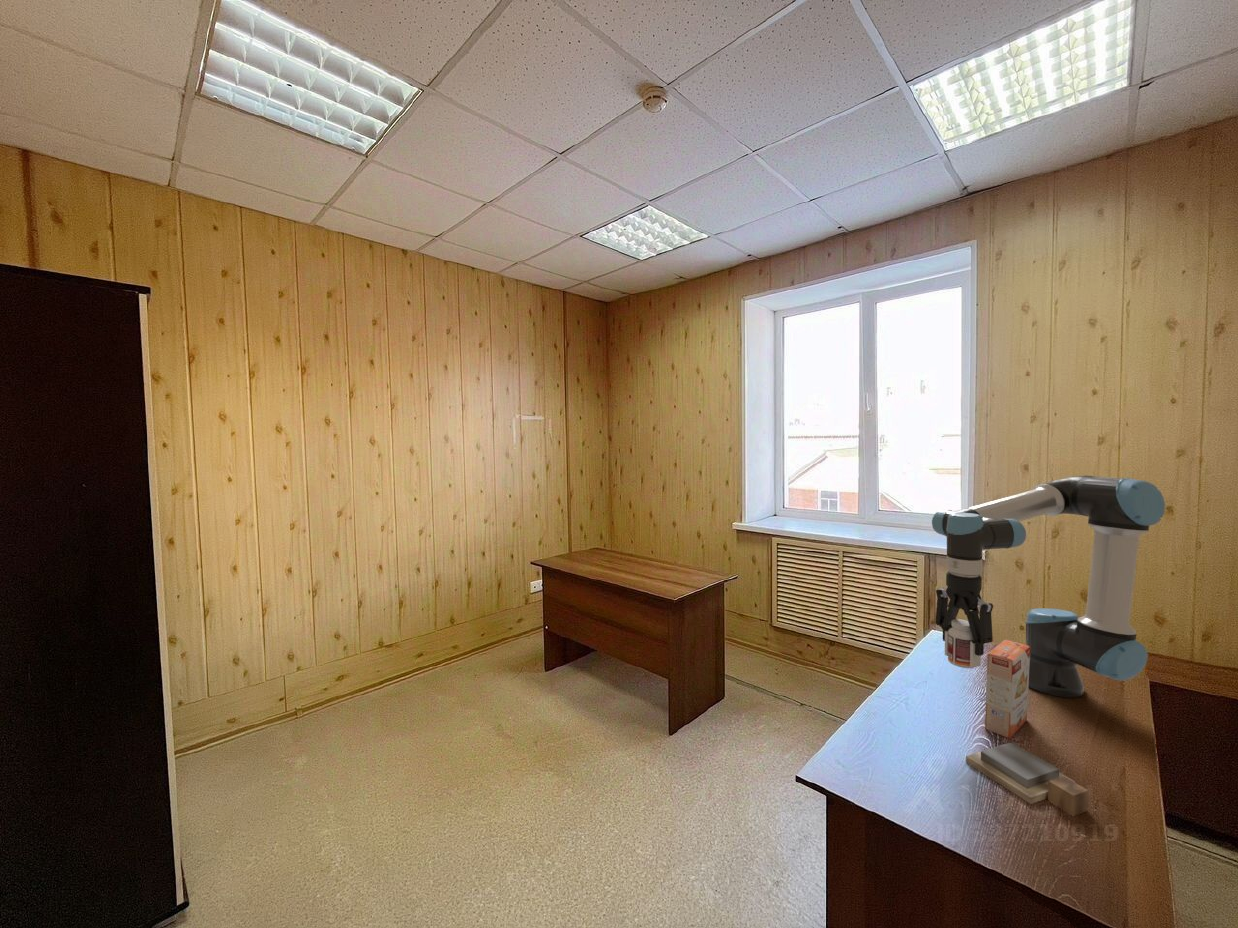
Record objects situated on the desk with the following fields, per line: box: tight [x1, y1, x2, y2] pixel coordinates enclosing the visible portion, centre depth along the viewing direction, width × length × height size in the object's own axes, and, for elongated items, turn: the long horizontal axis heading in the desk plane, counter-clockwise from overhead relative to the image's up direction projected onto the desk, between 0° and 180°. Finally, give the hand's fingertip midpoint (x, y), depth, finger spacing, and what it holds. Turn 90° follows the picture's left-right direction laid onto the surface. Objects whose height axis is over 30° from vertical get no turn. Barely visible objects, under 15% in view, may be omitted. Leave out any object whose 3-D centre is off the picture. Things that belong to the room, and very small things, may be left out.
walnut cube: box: [1047, 776, 1089, 817], centre depth 102 cm, size 4×4×4 cm
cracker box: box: [984, 639, 1030, 740], centre depth 129 cm, size 14×6×21 cm, turn 126°
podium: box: [965, 742, 1077, 805], centre depth 111 cm, size 14×14×4 cm
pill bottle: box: [947, 618, 975, 669], centre depth 127 cm, size 6×6×11 cm
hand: (962, 659), depth 127 cm, fingers closed on pill bottle, 6 cm apart
